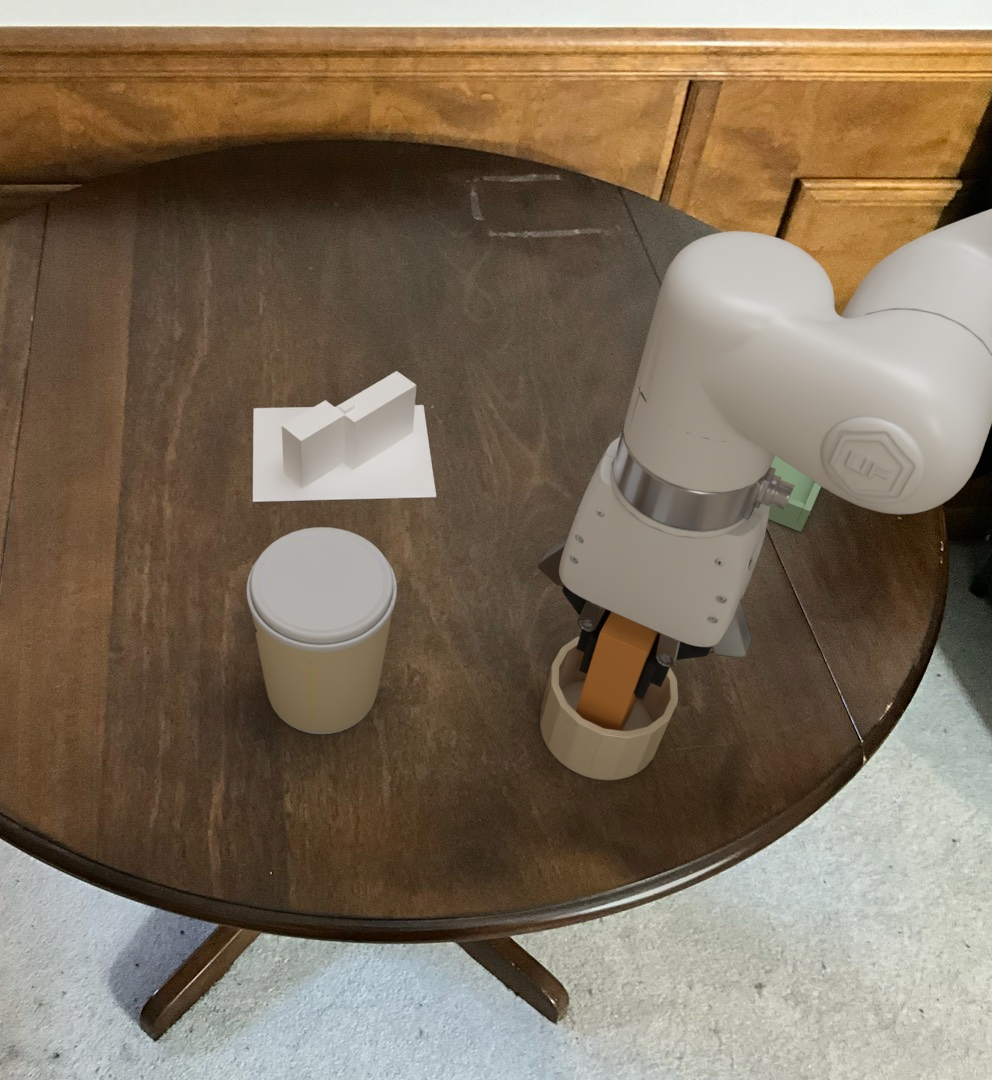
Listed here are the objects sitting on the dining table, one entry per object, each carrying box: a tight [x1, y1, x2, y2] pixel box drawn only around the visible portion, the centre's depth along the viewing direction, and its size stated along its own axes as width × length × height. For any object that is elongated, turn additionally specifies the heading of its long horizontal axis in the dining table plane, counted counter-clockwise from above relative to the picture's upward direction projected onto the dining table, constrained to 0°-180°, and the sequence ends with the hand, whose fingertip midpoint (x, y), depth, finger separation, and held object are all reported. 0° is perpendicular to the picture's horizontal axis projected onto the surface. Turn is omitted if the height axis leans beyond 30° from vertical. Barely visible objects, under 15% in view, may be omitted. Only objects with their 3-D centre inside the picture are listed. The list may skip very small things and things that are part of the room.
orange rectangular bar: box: [576, 611, 660, 731], centre depth 72 cm, size 3×4×12 cm, turn 150°
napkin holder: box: [252, 370, 437, 503], centre depth 91 cm, size 15×11×6 cm
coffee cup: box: [246, 526, 398, 735], centre depth 73 cm, size 9×9×12 cm
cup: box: [539, 635, 679, 781], centre depth 74 cm, size 8×8×6 cm
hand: (619, 668), depth 71 cm, fingers closed on orange rectangular bar, 3 cm apart
